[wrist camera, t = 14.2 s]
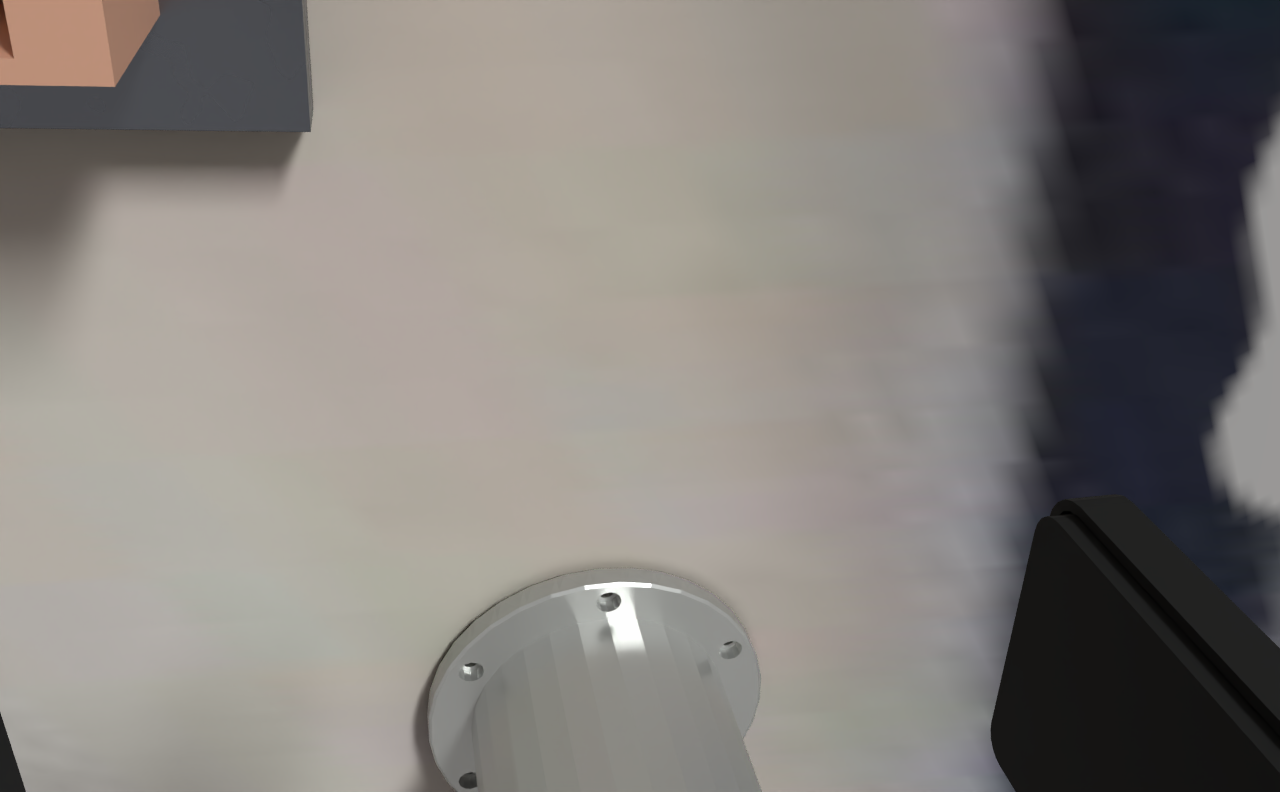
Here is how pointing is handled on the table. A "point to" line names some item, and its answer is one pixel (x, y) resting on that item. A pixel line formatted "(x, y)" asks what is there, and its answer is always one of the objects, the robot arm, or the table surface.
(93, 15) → the pink storage bin
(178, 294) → the table surface
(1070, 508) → the robot arm
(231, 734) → the table surface
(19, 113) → the base plate
